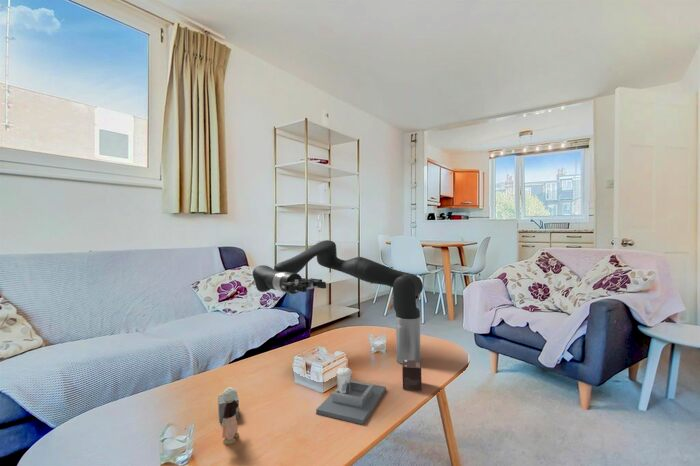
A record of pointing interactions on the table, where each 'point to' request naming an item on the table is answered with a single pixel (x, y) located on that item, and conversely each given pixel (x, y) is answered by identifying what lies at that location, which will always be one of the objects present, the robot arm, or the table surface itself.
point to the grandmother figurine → (230, 416)
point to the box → (411, 375)
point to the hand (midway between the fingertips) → (315, 287)
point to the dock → (352, 402)
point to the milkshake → (344, 380)
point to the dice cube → (222, 405)
